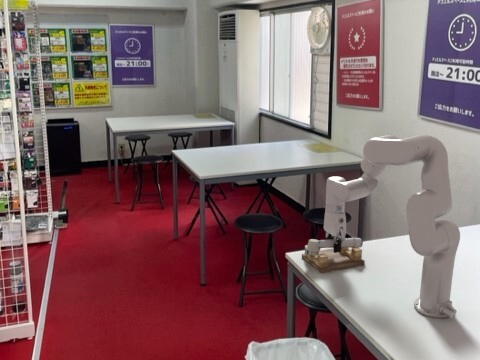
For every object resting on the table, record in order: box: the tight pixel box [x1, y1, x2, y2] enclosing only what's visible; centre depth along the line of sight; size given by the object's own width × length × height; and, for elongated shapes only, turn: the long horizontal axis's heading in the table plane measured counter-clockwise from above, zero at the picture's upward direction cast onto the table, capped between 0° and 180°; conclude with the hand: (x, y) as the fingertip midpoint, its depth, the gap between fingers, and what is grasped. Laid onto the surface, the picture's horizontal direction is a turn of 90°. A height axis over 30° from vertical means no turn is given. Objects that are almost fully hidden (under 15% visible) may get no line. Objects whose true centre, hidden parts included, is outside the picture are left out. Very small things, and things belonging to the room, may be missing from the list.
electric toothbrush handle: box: [304, 236, 364, 256], centre depth 208 cm, size 5×7×25 cm
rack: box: [301, 244, 366, 274], centre depth 209 cm, size 16×20×6 cm
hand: (333, 249), depth 208 cm, fingers closed on electric toothbrush handle, 5 cm apart
